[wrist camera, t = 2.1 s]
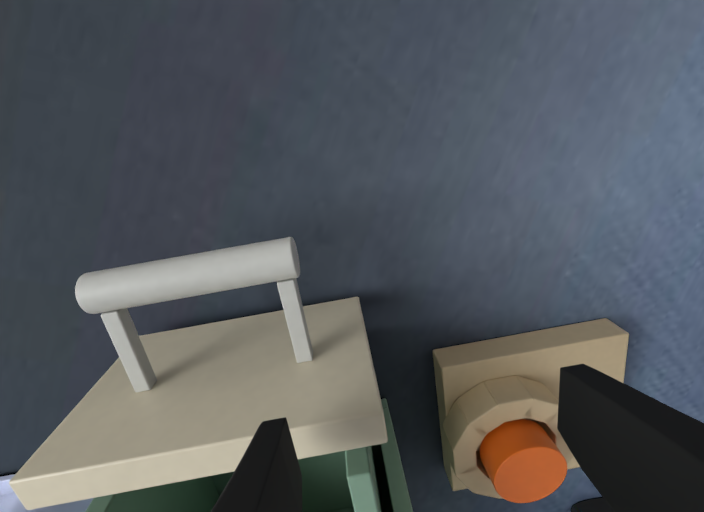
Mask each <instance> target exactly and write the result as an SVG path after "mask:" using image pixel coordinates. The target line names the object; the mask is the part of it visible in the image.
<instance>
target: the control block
mask: <svg viewBox="0 0 704 512" xmlns="http://www.w3.org/2000/svg"><path fill="white" fill-rule="evenodd" d="M628 340H629V333H628V332H626V331H625V330H623V329H622V328H620V327H619V326H617V325H616V324H614V323H613V322H611V321H610V320H608V319H607V318H603V319H598V320H592V321H587V322H581V323H576V324H570V325H565V326H560V327H554V328H549V329H543V330H538V331H532V332H527V333H522V334H516V335H511V336H505V337H500V338H494V339H489V340H483V341H478V342H473V343H467V344H462V345H456V346H451V347H445V348H440V349H435V350H433V361H434V371H435V381H436V391H437V401H438V411H439V421H440V431H441V441H442V451H443V461H444V468H445V471H446V474H447V477H448V479H449V482H450V485H451V488H452V490H453V491H457V490H463V489H469V490H470V491H471V492H472V493H475V494H480V495H484V496H489V497H494V498H498V499H501V498H502V497H501V496H500V495H499V494H498V493H497V492H496V490H495V488H494V486H493V484H492V482H491V480H490V478H489V475H488V473H487V471H486V469H485V467H484V465H483V463H482V461H481V458H480V446H481V443H482V441H483V439H484V438H485V436H486V435H487V434H488V433H489V432H491V431H492V430H494V429H495V428H497V427H498V426H500V425H501V424H503V423H504V422H508V421H513V420H519V419H526V420H531V421H533V422H536V423H537V424H539V425H540V426H541V427H542V428H543V429H544V430H545V431H546V433H547V434H548V435H549V437H550V438H551V440H552V441H553V442H554V444H555V445H556V446H557V448H558V449H559V450H560V452H561V453H562V455H563V456H564V457H565V459H566V462H567V469H572V468H577V467H580V465H579V464H578V462H577V461H576V459H575V457H574V456H573V454H572V453H571V451H570V449H569V448H568V446H567V444H566V443H565V441H564V439H563V438H562V436H561V434H560V432H559V431H558V429H557V423H558V403H559V383H560V368H561V367H567V366H573V365H578V364H585V365H587V366H590V367H592V368H594V369H596V370H598V371H600V372H602V373H604V374H606V375H608V376H610V377H612V378H614V379H616V380H618V381H620V382H622V383H624V374H625V366H626V357H627V348H628ZM502 499H503V498H502Z"/></svg>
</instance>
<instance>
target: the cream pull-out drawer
mask: <svg viewBox="0 0 704 512" xmlns="http://www.w3.org/2000/svg"><path fill="white" fill-rule="evenodd" d="M299 276H300V264H299V257H298V252H297V248H296V244H295V241H294V239H293V238H292V237H287V238H281V239H275V240H270V241H264V242H258V243H253V244H247V245H241V246H236V247H230V248H224V249H219V250H213V251H207V252H202V253H196V254H190V255H185V256H179V257H173V258H168V259H162V260H156V261H151V262H145V263H139V264H134V265H128V266H122V267H117V268H111V269H106V270H100V271H94V272H89V273H85V274H83V275H82V276H80V277H79V279H78V280H77V283H76V287H75V294H76V299H77V302H78V304H79V305H80V307H81V308H82V309H83V310H84V311H85V312H87V313H90V314H97V313H102V312H103V313H102V314H101V317H102V320H103V322H104V324H105V326H106V328H107V331H108V333H109V335H110V337H111V340H112V342H113V344H114V346H115V348H116V351H117V353H118V355H119V358H118V359H117V360H116V362H115V363H114V364H113V365H112V366H111V367H110V368H109V369H108V371H107V372H106V373H105V374H104V375H103V376H102V377H101V378H100V380H99V381H98V382H97V383H96V384H95V385H94V386H93V387H92V389H91V390H90V391H89V392H88V393H87V394H86V395H85V396H84V398H83V399H82V400H81V401H80V402H79V403H78V404H77V406H76V407H75V408H74V409H73V410H72V411H71V412H70V413H69V415H68V416H67V417H66V418H65V419H64V420H63V421H62V422H61V424H60V425H59V426H58V427H57V428H56V429H55V430H54V431H53V433H52V434H51V435H50V436H49V437H48V438H47V439H46V440H45V442H44V443H43V444H42V445H41V446H40V447H39V448H38V450H37V451H36V452H35V453H34V454H33V455H32V456H31V457H30V459H29V460H28V461H27V462H26V463H25V464H24V465H23V466H22V468H21V469H20V470H19V471H18V472H17V473H16V474H15V475H14V477H13V478H12V479H11V480H10V481H9V485H10V486H11V488H12V489H13V491H14V492H15V494H16V495H17V497H18V498H19V500H20V501H21V503H22V504H23V506H24V507H25V509H26V510H33V509H38V508H43V507H48V506H54V505H59V504H64V503H70V502H75V501H80V500H86V499H91V498H93V500H92V502H91V503H90V505H89V506H88V508H87V510H86V511H85V512H211V510H212V509H213V507H214V505H215V504H216V502H217V500H218V499H219V497H220V495H221V493H222V492H223V490H224V488H225V487H226V485H227V483H228V482H229V480H230V478H231V477H232V475H233V473H234V471H235V470H236V468H237V466H238V464H239V462H240V461H241V459H242V457H243V455H244V453H245V451H246V450H247V448H248V446H249V444H250V442H251V440H252V438H253V437H254V435H255V433H256V431H257V429H258V427H259V425H260V424H261V423H262V422H263V421H268V420H273V419H279V418H284V417H286V419H287V422H288V426H289V430H290V433H291V437H292V441H293V444H294V448H295V452H296V455H297V459H298V463H299V466H300V470H301V474H302V512H384V510H383V503H382V497H381V492H380V486H379V481H378V476H377V470H376V465H375V460H374V454H373V449H372V445H378V444H383V443H387V442H388V436H387V430H386V424H385V418H384V412H383V407H382V403H381V398H380V393H379V389H378V384H377V379H376V375H375V370H374V366H373V361H372V356H371V352H370V347H369V342H368V338H367V333H366V328H365V324H364V319H363V314H362V310H361V305H360V301H359V297H353V298H347V299H341V300H336V301H330V302H325V303H319V304H314V305H308V306H302V301H301V297H300V293H299V289H298V284H297V280H296V278H298V277H299ZM275 281H278V282H277V286H278V290H279V294H280V298H281V302H282V306H283V310H280V311H275V312H269V313H264V314H258V315H253V316H247V317H242V318H236V319H231V320H225V321H219V322H214V323H208V324H203V325H197V326H192V327H186V328H181V329H175V330H170V331H164V332H159V333H153V334H147V335H142V336H139V335H138V333H137V331H136V328H135V326H134V323H133V321H132V319H131V316H130V314H129V312H128V309H127V308H130V307H136V306H141V305H147V304H152V303H158V302H164V301H169V300H175V299H180V298H186V297H192V296H197V295H203V294H208V293H214V292H220V291H225V290H231V289H236V288H242V287H247V286H253V285H259V284H264V283H270V282H275Z"/></svg>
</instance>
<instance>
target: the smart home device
mask: <svg viewBox="0 0 704 512" xmlns="http://www.w3.org/2000/svg"><path fill="white" fill-rule="evenodd" d="M571 512H614V511H613V509H612V508H611V507H610V506H609V504H608V503H607V502H606V500H605V499H604V498H598V499H591V500H586V501H582V502H579V503H577V504H575V505H573V506H572V511H571Z"/></svg>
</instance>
